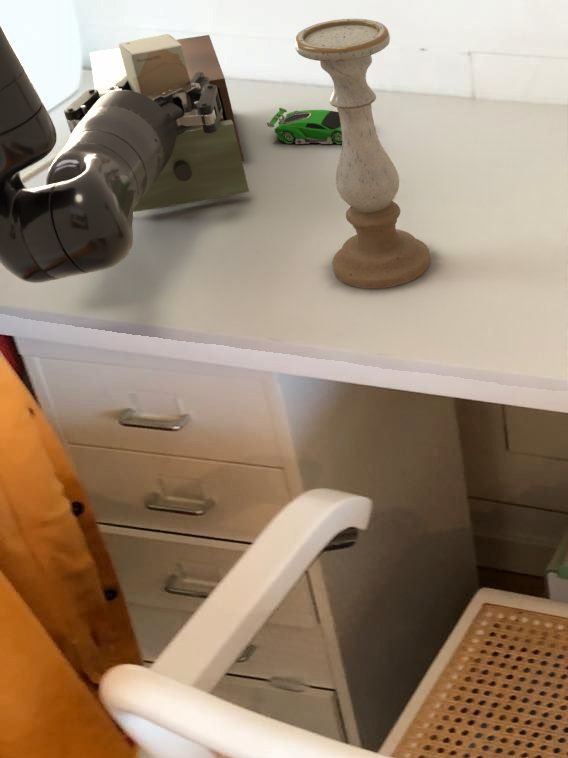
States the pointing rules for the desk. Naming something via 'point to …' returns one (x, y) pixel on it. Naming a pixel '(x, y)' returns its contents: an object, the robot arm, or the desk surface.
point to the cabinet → (197, 59)
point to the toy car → (308, 126)
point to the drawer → (199, 169)
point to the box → (154, 64)
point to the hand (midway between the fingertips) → (167, 83)
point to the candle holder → (363, 159)
